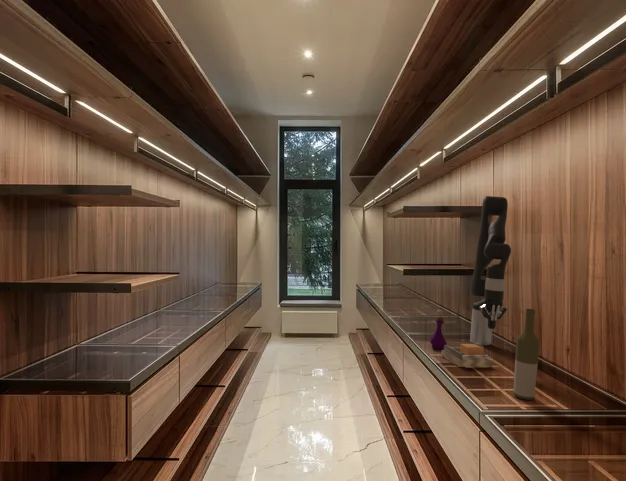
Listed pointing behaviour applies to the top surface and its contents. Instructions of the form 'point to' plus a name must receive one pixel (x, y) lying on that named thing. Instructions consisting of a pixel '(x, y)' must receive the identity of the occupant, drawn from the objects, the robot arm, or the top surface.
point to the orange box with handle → (471, 349)
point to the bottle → (526, 360)
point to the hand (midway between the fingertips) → (491, 328)
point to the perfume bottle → (438, 334)
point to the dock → (465, 358)
